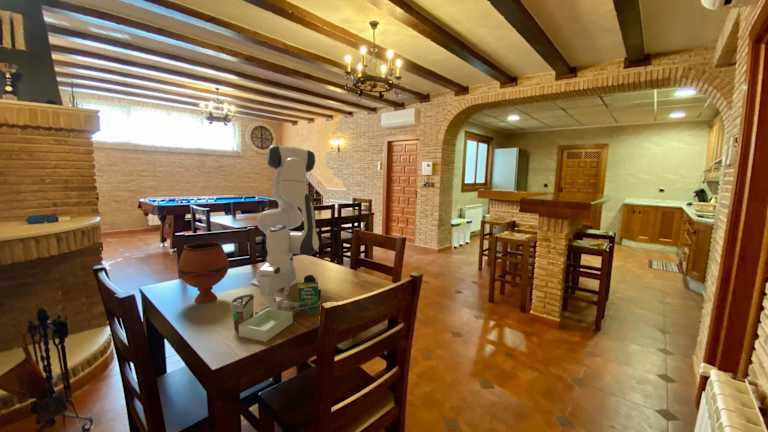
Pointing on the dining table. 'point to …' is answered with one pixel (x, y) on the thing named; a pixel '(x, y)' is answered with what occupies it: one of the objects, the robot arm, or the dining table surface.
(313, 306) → the coffee box
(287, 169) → the robot arm
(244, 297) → the food container
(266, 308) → the beech tray
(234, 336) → the dining table surface
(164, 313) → the dining table surface
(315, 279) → the beige square canister
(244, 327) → the sage bin
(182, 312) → the dining table surface
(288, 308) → the pale grey cube
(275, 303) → the off-white cube
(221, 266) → the goblet
